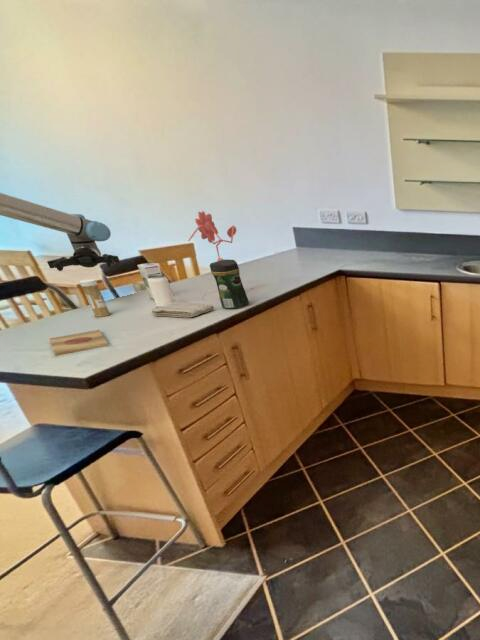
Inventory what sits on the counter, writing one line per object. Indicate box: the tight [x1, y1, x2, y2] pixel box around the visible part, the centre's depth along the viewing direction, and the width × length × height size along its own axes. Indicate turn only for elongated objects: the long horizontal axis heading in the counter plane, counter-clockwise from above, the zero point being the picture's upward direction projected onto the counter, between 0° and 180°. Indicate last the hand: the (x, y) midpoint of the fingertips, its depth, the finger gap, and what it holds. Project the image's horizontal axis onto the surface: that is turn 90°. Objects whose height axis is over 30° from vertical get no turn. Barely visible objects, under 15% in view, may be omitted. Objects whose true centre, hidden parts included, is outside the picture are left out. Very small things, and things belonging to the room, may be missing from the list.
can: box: [147, 274, 177, 307], centre depth 168 cm, size 6×6×12 cm
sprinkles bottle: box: [78, 278, 111, 318], centre depth 155 cm, size 5×5×13 cm
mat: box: [49, 329, 109, 357], centre depth 132 cm, size 18×12×1 cm, turn 48°
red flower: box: [187, 210, 254, 301], centre depth 179 cm, size 15×26×35 cm, turn 2°
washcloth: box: [150, 301, 215, 319], centre depth 161 cm, size 12×18×3 cm, turn 84°
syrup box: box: [137, 262, 163, 300], centre depth 177 cm, size 6×6×14 cm
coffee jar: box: [209, 259, 250, 310], centre depth 167 cm, size 10×8×19 cm
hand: (83, 265), depth 157 cm, fingers open, 13 cm apart
